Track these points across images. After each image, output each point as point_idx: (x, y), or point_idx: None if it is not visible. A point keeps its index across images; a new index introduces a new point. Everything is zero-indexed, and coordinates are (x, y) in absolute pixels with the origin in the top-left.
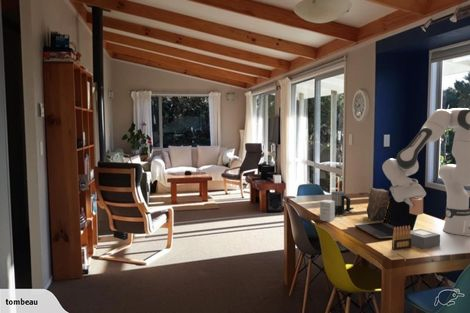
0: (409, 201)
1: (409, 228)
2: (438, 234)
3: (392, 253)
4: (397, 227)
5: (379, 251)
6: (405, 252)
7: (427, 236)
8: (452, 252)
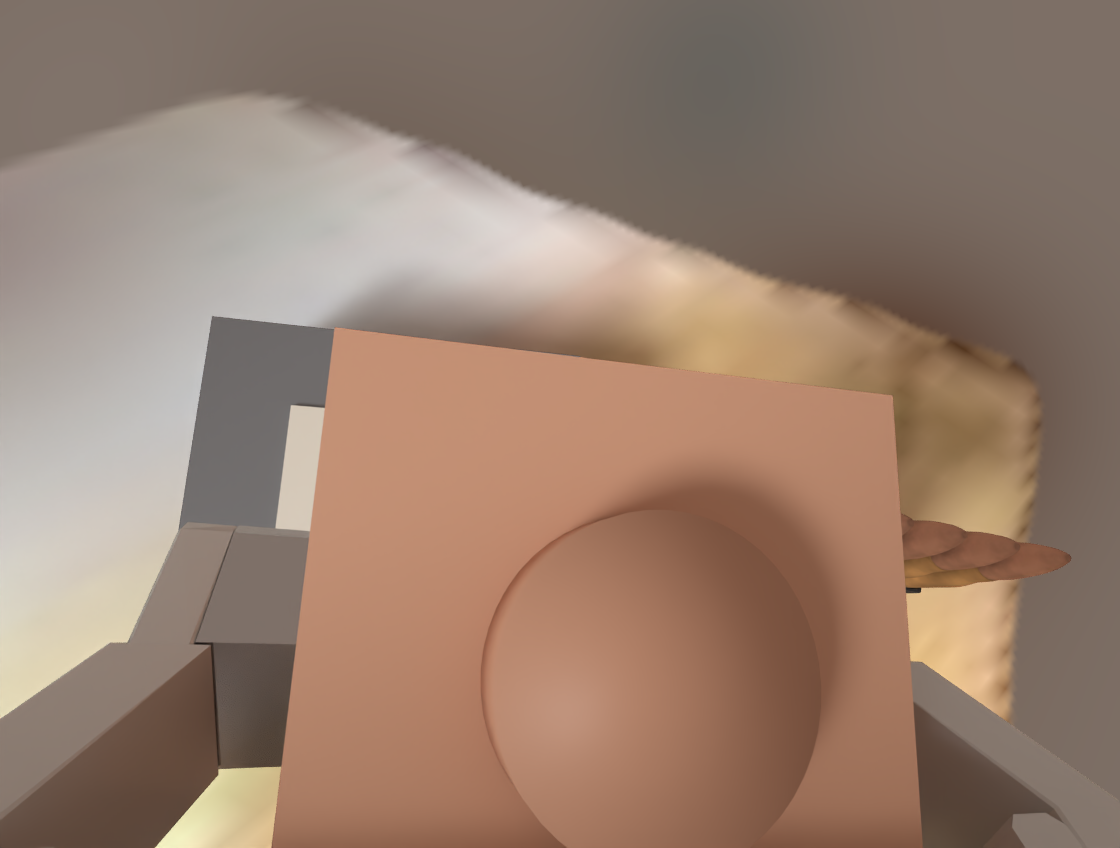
0: (1020, 732)
1: None
2: (239, 329)
3: (928, 490)
4: (1010, 543)
5: (1000, 602)
6: None
7: None
8: (366, 166)
